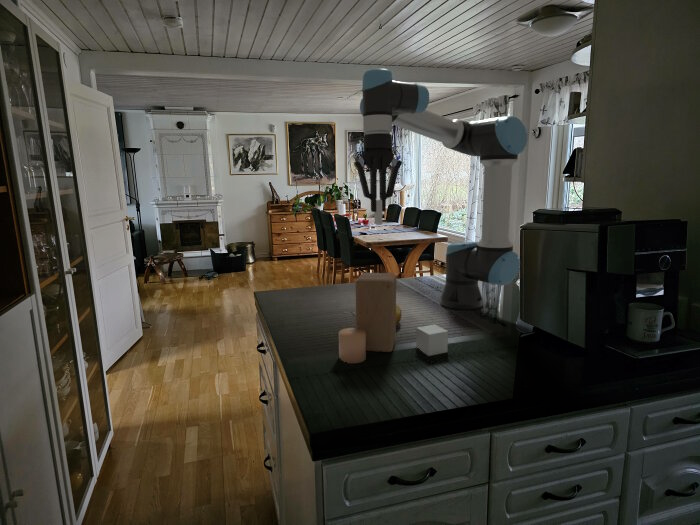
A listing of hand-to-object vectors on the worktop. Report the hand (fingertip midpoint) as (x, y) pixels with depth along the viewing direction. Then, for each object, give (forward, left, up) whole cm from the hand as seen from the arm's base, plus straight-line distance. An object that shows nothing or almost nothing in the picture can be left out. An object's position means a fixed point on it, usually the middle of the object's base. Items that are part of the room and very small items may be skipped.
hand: (378, 223), depth 117 cm
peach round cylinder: (+9, +9, -34) cm, 36 cm away
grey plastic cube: (-13, +8, -34) cm, 37 cm away
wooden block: (+1, +2, -34) cm, 34 cm away
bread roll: (-7, -16, -34) cm, 38 cm away
